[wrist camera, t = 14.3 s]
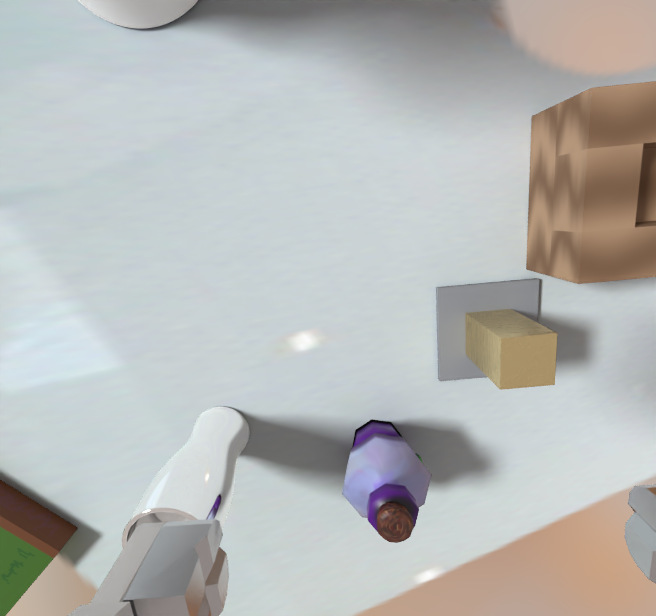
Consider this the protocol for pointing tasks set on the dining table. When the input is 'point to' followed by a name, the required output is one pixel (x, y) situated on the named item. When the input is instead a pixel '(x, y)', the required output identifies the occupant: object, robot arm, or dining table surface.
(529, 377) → the tan wooden block
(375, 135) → the dining table surface
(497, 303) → the slate pad
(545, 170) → the wooden slotted box
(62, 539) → the hardcover book
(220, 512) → the beer glass
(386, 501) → the potion bottle
